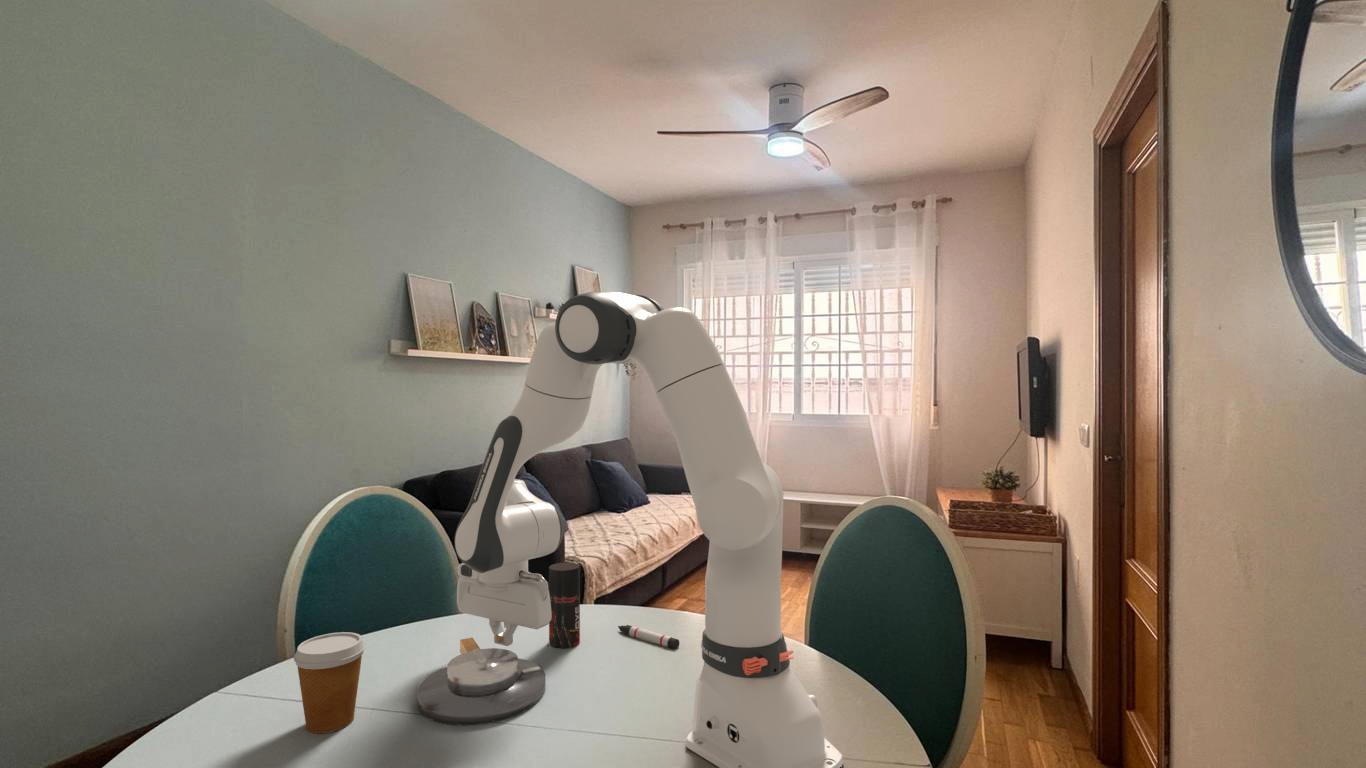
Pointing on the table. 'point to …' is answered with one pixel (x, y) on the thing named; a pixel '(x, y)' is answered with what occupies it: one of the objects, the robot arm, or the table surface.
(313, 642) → the disposable coffee cup
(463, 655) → the dial
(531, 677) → the plate
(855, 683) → the table surface
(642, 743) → the table surface
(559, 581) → the deodorant
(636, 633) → the marker
